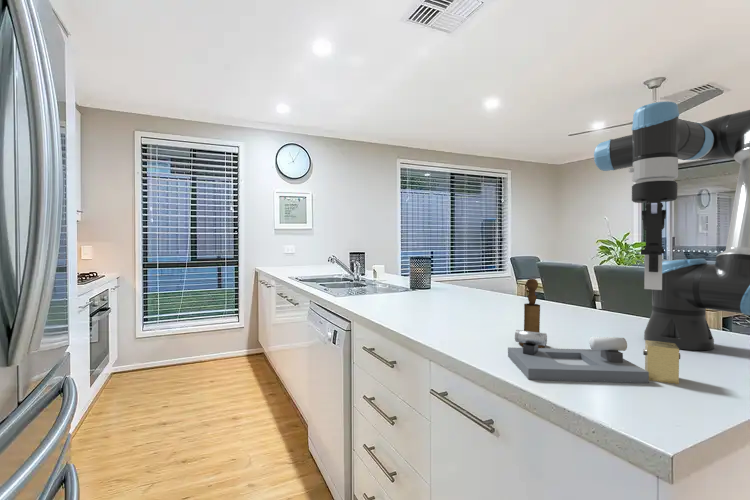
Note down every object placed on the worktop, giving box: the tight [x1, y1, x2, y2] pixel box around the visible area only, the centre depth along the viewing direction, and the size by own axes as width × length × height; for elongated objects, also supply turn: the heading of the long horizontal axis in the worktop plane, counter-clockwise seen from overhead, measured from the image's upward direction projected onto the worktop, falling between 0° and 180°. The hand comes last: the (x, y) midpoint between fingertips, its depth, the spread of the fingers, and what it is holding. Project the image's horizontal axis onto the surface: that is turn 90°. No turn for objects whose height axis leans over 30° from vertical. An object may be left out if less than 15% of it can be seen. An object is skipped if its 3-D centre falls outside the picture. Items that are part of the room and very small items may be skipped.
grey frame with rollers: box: [507, 336, 650, 384], centre depth 85 cm, size 23×16×7 cm
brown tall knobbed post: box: [518, 278, 546, 348], centre depth 104 cm, size 7×6×18 cm
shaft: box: [514, 329, 548, 355], centre depth 90 cm, size 6×4×5 cm
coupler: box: [642, 340, 681, 385], centre depth 79 cm, size 6×5×7 cm
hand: (652, 286), depth 79 cm, fingers open, 13 cm apart
